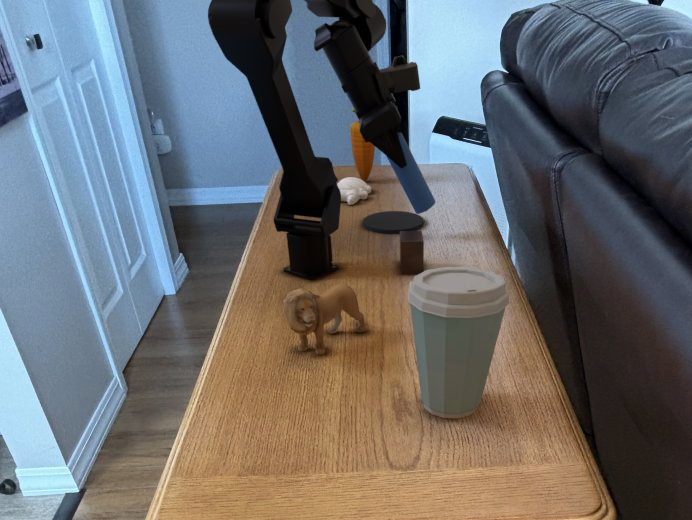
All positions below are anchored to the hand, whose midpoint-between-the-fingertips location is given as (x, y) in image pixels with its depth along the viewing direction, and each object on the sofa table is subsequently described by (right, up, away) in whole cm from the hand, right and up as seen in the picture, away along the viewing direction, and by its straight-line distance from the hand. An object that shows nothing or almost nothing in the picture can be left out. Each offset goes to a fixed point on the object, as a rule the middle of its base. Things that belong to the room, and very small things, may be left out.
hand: (403, 163), depth 121 cm
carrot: (-8, +13, +35) cm, 38 cm away
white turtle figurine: (-11, +7, +27) cm, 30 cm away
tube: (+1, -1, +1) cm, 2 cm away
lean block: (+1, -18, -4) cm, 19 cm away
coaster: (-2, -4, +14) cm, 14 cm away
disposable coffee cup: (+6, -46, -37) cm, 59 cm away
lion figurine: (-10, -36, -24) cm, 45 cm away
